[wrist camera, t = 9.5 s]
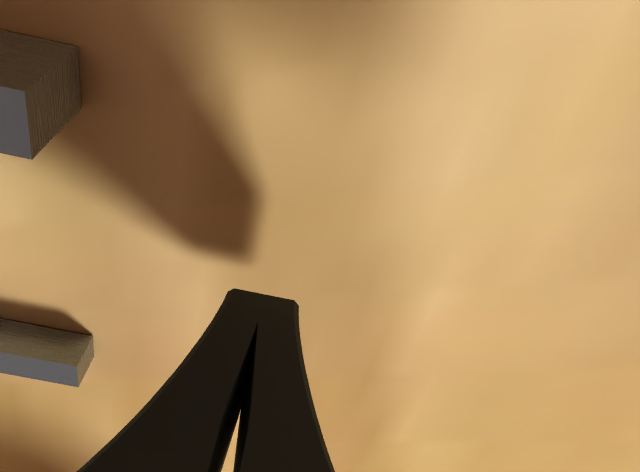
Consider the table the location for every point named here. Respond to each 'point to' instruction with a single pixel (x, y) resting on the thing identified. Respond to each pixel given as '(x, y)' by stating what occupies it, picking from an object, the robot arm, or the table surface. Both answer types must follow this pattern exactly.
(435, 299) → the table surface
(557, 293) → the table surface
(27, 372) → the rail
